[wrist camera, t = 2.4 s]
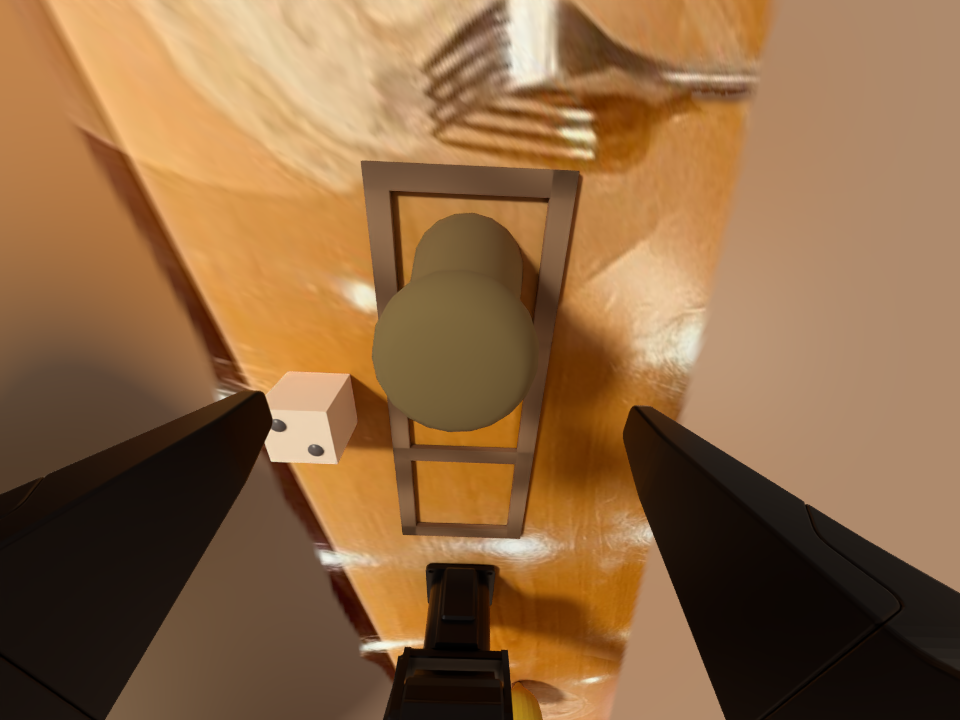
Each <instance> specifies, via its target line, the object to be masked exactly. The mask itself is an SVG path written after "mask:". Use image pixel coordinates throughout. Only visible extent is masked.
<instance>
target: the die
mask: <svg viewBox="0 0 960 720" xmlns="http://www.w3.org/2000/svg"><path fill="white" fill-rule="evenodd" d="M265 396H266V399H267V402H268V405H269V408H270V411H271V414H272V418H273V423H272V427H271V430H270V432H269V434H268V436H267V438H266V440H265V445H266V448H267V451H268V454H269V456H270V459H271V462H297V463H322V464H338V462H339V460H340V458H341V456H342V454H343V452H344V450H345V448H346V446H347V444H348V442H349V439H350V437H351V435H352V433H353V431H354V429H355V427H356V425H357V423H358V419H357V413H356V407H355V401H354V395H353V390H352V384H351V378H350V374H338V373H314V372H291V371H288V372H287V373H286V374H285V375H284V376H283V377H282V378H281V379H280V380H279V381H278V382H277V383H276V384H275V386H274V387H273V388H272V389H271V390H270V391H269V392H268V393H267V394H266V395H265Z"/></svg>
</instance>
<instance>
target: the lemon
mask: <svg viewBox="0 0 960 720" xmlns="http://www.w3.org/2000/svg"><path fill="white" fill-rule="evenodd" d="M511 693H512V705H513V720H543V719H542V714H541V710H540V706H539V704H538V701H537V699H536V698H535V696H534V695H533V694H532V693H531V692H530V691H529V690H527V689H525V688H524V687H523V685H522V684H521V683H520V682H516V683H515V685H514V686H513V688H512V689H511Z"/></svg>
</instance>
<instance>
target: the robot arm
mask: <svg viewBox="0 0 960 720" xmlns="http://www.w3.org/2000/svg"><path fill="white" fill-rule="evenodd" d="M272 423H273V418H272V414H271V411H270V408H269V405H268V402H267V399H266V396H265V394H264V393H263V392H261V391H253V390H244V391H241V392H238V393H236V394H234V395H231V396H229V397H227V398H224V399H222V400H220V401H217V402H215V403H213V404H210V405H208V406H206V407H203V408H201V409H199V410H196V411H194V412H192V413H189V414H187V415H185V416H183V417H180V418H178V419H175V420H173V421H171V422H168V423H166V424H164V425H161V426H159V427H157V428H154V429H152V430H150V431H147V432H145V433H143V434H140V435H138V436H136V437H133V438H131V439H129V440H126V441H124V442H122V443H119V444H117V445H115V446H112V447H110V448H108V449H105V450H103V451H101V452H98V453H96V454H94V455H92V456H89V457H87V458H84V459H82V460H80V461H78V462H75V463H73V464H70V465H68V466H66V467H63V468H61V469H59V470H57V471H54V472H52V473H49V474H48V475H46V476H45V477H40V478H37V479H35V480H33V481H30V482H28V483H26V484H23V485H21V486H19V487H16V488H14V489H12V490H10V491H7V492H5V493H2V494H0V720H105V719H106V717H107V715H108V714H109V712H110V710H111V709H112V707H113V705H114V704H115V702H116V700H117V699H118V697H119V695H120V694H121V692H122V690H123V689H124V687H125V685H126V684H127V682H128V680H129V678H130V677H131V675H132V673H133V672H134V670H135V668H136V667H137V665H138V663H139V662H140V660H141V658H142V657H143V655H144V653H145V652H146V650H147V648H148V646H149V645H150V643H151V641H152V640H153V638H154V636H155V635H156V633H157V631H158V630H159V628H160V626H161V625H162V623H163V621H164V620H165V618H166V616H167V615H168V613H169V611H170V610H171V608H172V606H173V604H174V603H175V601H176V599H177V598H178V596H179V594H180V593H181V591H182V589H183V588H184V586H185V584H186V582H187V581H188V579H189V578H190V576H191V574H192V572H193V571H194V569H195V567H196V566H197V564H198V562H199V561H200V559H201V557H202V556H203V554H204V552H205V551H206V549H207V547H208V546H209V544H210V542H211V541H212V539H213V537H214V536H215V534H216V532H217V530H218V529H219V527H220V525H221V523H222V522H223V520H224V519H225V517H226V515H227V514H228V512H229V510H230V509H231V507H232V505H233V504H234V502H235V500H236V499H237V497H238V495H239V493H240V492H241V490H242V488H243V486H244V485H245V483H246V481H247V479H248V477H249V475H250V473H251V471H252V469H253V466H254V464H255V462H256V460H257V458H258V456H259V453H260V451H261V449H262V447H263V445H264V443H265V440H266V438H267V436H268V434H269V432H270V430H271V427H272ZM623 441H624V445H625V448H626V452H627V456H628V460H629V463H630V467H631V471H632V474H633V478H634V482H635V486H636V489H637V493H638V496H639V499H640V501H641V504H642V507H643V509H644V512H645V515H646V517H647V520H648V522H649V525H650V527H651V530H652V532H653V535H654V538H655V540H656V543H657V545H658V548H659V550H660V553H661V555H662V558H663V561H664V563H665V566H666V568H667V571H668V573H669V576H670V578H671V581H672V584H673V586H674V589H675V591H676V594H677V596H678V599H679V602H680V604H681V607H682V609H683V612H684V614H685V617H686V619H687V622H688V625H689V627H690V630H691V632H692V635H693V637H694V640H695V642H696V645H697V647H698V650H699V653H700V655H701V658H702V660H703V663H704V665H705V668H706V671H707V673H708V676H709V678H710V681H711V683H712V686H713V688H714V691H715V694H716V696H717V699H718V701H719V704H720V706H721V709H722V712H723V714H724V717H725V719H726V720H960V593H959V592H957V591H955V590H954V589H952V588H950V587H948V586H947V585H945V584H943V583H941V582H939V581H938V580H936V579H934V578H932V577H930V576H929V575H927V574H925V573H923V572H922V571H920V570H918V569H916V568H915V567H913V566H911V565H909V564H908V563H906V562H904V561H902V560H900V559H899V558H897V557H895V556H894V555H892V554H890V553H888V552H887V551H885V550H883V549H882V548H880V547H878V546H876V545H874V544H873V543H871V542H869V541H868V540H866V539H864V538H862V537H861V536H859V535H858V534H856V533H854V532H853V531H851V530H849V529H848V528H846V527H844V526H843V525H841V524H839V523H838V522H836V521H835V520H833V519H831V518H830V517H828V516H826V515H825V514H823V513H822V512H820V511H818V510H817V509H815V508H814V507H812V506H810V505H808V504H806V505H805V503H804V501H802V500H801V499H799V498H797V497H796V496H794V495H793V494H791V493H789V492H788V491H786V490H784V489H783V488H781V487H780V486H778V485H776V484H775V483H773V482H772V481H770V480H768V479H767V478H765V477H764V476H762V475H760V474H759V473H757V472H756V471H754V470H752V469H751V468H749V467H747V466H746V465H744V464H743V463H741V462H739V461H738V460H736V459H735V458H733V457H731V456H730V455H728V454H726V453H725V452H723V451H722V450H720V449H719V448H717V447H715V446H714V445H712V444H710V443H709V442H707V441H706V440H704V439H702V438H701V437H699V436H698V435H696V434H694V433H693V432H691V431H690V430H688V429H686V428H685V427H683V426H682V425H680V424H678V423H677V422H675V421H674V420H672V419H670V418H669V417H667V416H666V415H664V414H662V413H661V412H659V411H657V410H656V409H654V408H653V407H651V406H639V405H635V406H633V407H632V408H631V409H630V412H629V415H628V418H627V421H626V424H625V427H624V431H623ZM494 580H495V568H494V567H492V566H472V565H441V564H429V565H427V567H426V581H427V597H428V603H429V607H428V616H427V624H426V632H425V640H424V648H423V649H414V648H411V647H405V649H404V653H403V655H401V656H398V661H397V666H396V672H395V678H394V682H393V686H392V690H391V693H390V697H389V700H388V704H387V707H386V711H385V714H384V718H383V720H513V705H512V693H511V682H510V670H509V658H508V650H501V651H490V605H491V604H492V597H493V589H494Z"/></svg>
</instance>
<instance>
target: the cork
mask: <svg viewBox="0 0 960 720" xmlns="http://www.w3.org/2000/svg"><path fill="white" fill-rule="evenodd" d="M522 278H523V260H522V257H521V253H520V250H519V247H518V244H517V242H516V241H515V240H514V238H513V237H512V236H511V234H510V233H509V231H508V230H507V229H506V228H505V227H503V226H502V225H500V224H499V223H498V222H496V221H495V220H493V219H492V218H489V217H486V216H482V215H479V214H475V213H464V214H454V215H451V216H449V217H446V218H444V219H442V220H439V221H437V222H436V223H435V224H434V225H433V226H432V227H431V228H430V229H429V230H427V231H426V232H425V233H424V235H423V237H422V239H421V241H420V242H419V244H418V246H417V248H416V252H415V257H414V263H413V269H412V275H411V281H410V282H409V283H408V284H407V285H406V286H405V287H403V288H402V289H401V290H400V291H399V292H398V293H396V294H395V295H394V296H393V297H392V298H391V300H390V301H389V302H388V304H387V306H386V307H385V309H384V311H383V313H382V315H381V316H380V318H379V320H378V322H377V324H376V327H375V334H374V341H373V349H372V360H373V364H374V369H375V373H376V377H377V380H378V382H379V383H380V385H381V387H382V388H383V390H384V391H385V393H386V395H387V396H388V398H389V399H390V401H391V402H392V404H393V405H394V406H395V407H397V408H398V409H399V410H400V411H401V412H402V413H403V414H405V415H406V416H407V417H408V418H410V419H412V420H414V421H416V422H418V423H420V424H422V425H424V426H426V427H429V428H433V429H438V430H443V431H447V432H460V431H473V430H476V429H480V428H483V427H487V426H490V425H492V424H494V423H495V422H497V421H499V420H500V419H502V418H504V417H505V416H507V415H509V414H510V413H511V412H512V411H513V410H514V409H515V408H516V407H517V406H518V405H519V403H520V402H521V401H522V400H523V399H524V398H525V397H526V396H527V394H528V393H529V390H530V388H531V385H532V383H533V381H534V378H535V376H536V373H537V369H538V359H539V340H538V337H537V334H536V331H535V328H534V325H533V322H532V319H531V316H530V313H529V311H528V309H527V308H526V307H525V306H524V304H523V303H522V302H521V301H520V296H521V287H522Z"/></svg>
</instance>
